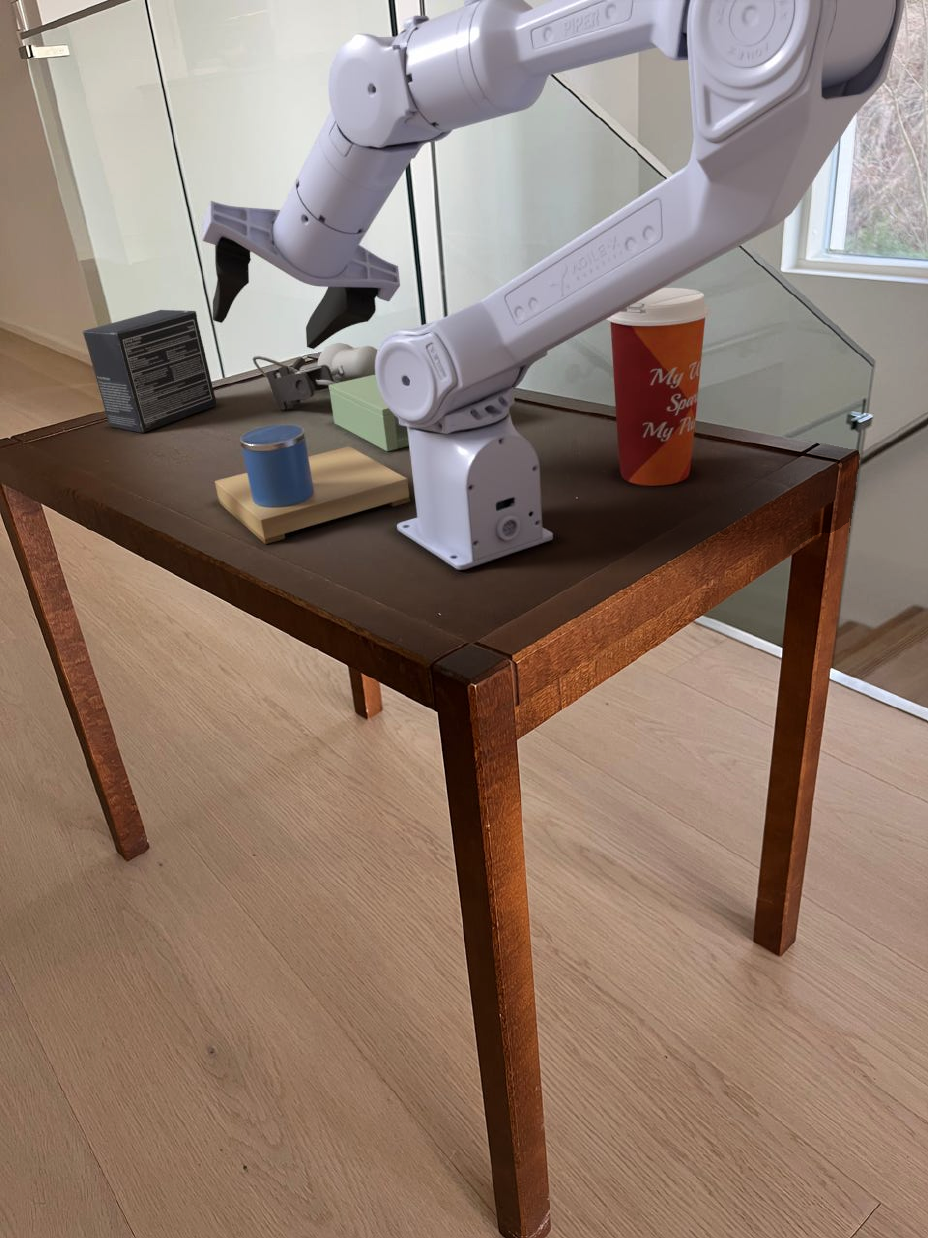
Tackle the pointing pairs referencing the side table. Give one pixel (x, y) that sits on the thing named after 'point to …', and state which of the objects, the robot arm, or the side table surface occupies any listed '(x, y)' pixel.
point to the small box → (151, 369)
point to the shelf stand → (367, 413)
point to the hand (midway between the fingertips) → (264, 325)
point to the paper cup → (657, 383)
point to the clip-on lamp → (319, 372)
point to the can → (277, 465)
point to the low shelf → (318, 494)
